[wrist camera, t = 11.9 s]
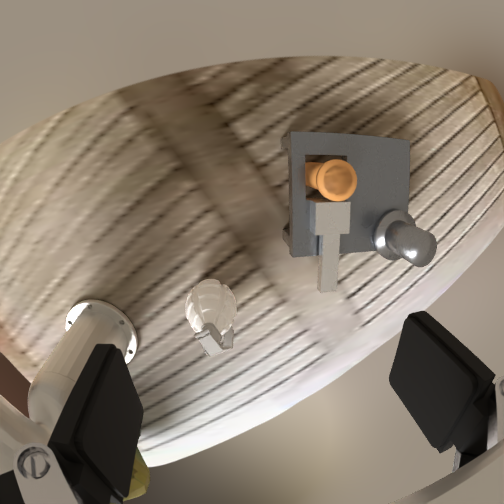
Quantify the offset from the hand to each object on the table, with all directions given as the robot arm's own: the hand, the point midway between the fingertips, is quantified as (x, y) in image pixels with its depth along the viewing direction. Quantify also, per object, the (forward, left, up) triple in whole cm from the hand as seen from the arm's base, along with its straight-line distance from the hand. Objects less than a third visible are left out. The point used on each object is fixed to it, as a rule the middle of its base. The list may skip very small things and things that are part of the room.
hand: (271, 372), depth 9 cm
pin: (+4, -10, -30) cm, 32 cm away
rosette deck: (0, -15, -30) cm, 34 cm away
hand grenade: (-12, +3, -31) cm, 33 cm away
